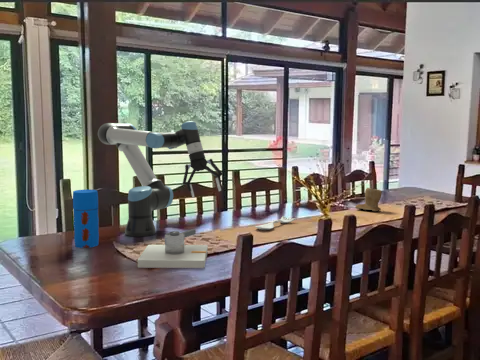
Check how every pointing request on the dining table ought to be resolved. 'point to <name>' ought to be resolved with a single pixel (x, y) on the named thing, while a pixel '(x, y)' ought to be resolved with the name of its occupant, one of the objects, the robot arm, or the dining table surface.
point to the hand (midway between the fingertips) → (206, 194)
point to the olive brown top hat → (371, 200)
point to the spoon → (271, 225)
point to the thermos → (86, 218)
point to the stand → (173, 257)
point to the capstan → (176, 241)
